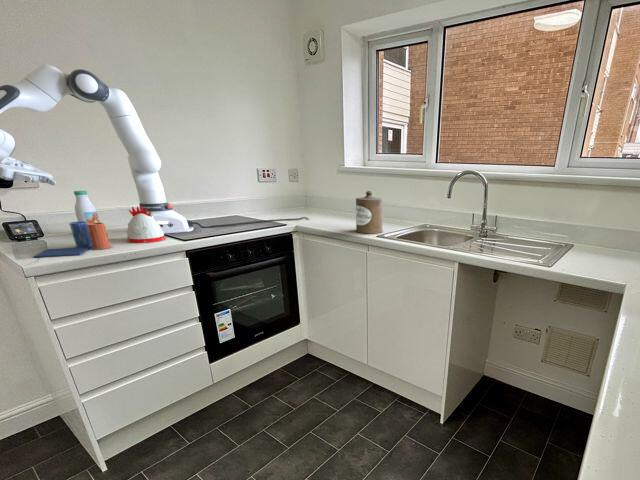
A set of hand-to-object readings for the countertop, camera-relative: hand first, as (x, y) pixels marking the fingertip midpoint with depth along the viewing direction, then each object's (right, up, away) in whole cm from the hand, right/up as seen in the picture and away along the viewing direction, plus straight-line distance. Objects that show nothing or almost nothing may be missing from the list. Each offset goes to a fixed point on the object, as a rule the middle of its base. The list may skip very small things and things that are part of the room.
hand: (43, 181), depth 138 cm
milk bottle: (-7, -15, +30) cm, 34 cm away
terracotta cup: (+18, -25, +6) cm, 31 cm away
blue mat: (+10, -28, -2) cm, 30 cm away
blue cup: (+10, -24, +8) cm, 27 cm away
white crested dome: (+24, -19, +23) cm, 39 cm away
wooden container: (+123, -8, +62) cm, 138 cm away
